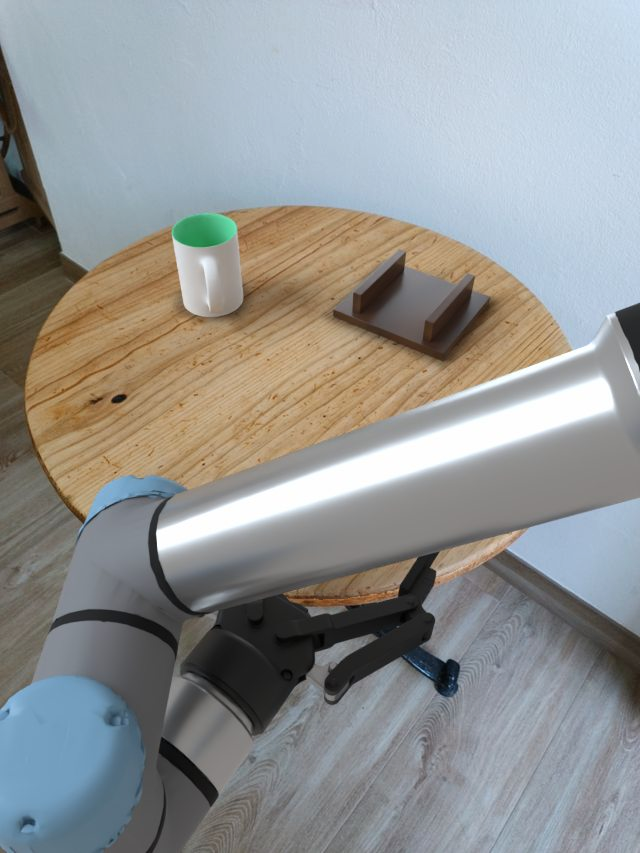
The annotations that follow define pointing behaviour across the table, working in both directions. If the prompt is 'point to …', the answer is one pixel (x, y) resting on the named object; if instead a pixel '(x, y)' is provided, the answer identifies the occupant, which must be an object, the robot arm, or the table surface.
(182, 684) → the robot arm
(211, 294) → the mug
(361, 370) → the table surface
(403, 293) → the rack
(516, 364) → the table surface
